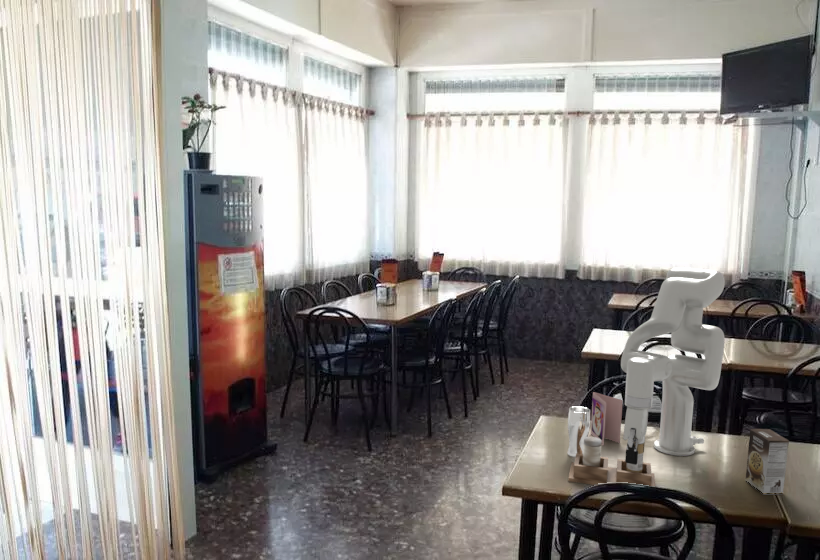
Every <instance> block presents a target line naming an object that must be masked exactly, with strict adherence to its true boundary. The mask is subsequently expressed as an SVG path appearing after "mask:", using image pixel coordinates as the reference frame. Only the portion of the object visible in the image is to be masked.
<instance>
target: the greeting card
mask: <svg viewBox="0 0 820 560" xmlns="http://www.w3.org/2000/svg"><path fill="white" fill-rule="evenodd" d="M591 399H592V400H591V401H592V403H591V405H592V406H591V417H590V435H592V437H596V438H599V439H601V441H602V442H601V446H603V447H604V445H605V443H604V442H605V438H607V439H606V440H608V439H609V441H611V440H612V442H614V441H615V443H617V442H618V444H621V434H622V433H621V432H622V431H621V429H622V416H623V402H624V400H623V399H620V398H616V397H612V396H608V395H605V394H602V393H599V392H595V391H593V392H592V397H591Z"/></svg>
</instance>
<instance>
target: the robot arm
mask: <svg viewBox="0 0 820 560" xmlns="http://www.w3.org/2000/svg"><path fill="white" fill-rule="evenodd" d="M725 281H726V280H725V276H724V275H723V273H722V272H720V271H719V270H713V269H704V268H694V267H672V268H670V269H668V271H667V273H666V279H665V280H663V282H662V283H661V285H660V289H659V291H658V294H657V297H656V301H655V304H654V306H653V310H652V312H651V316H650V318H649V319H648V320H647V321H645V322H643V323H642V324H641V325H639V326H638V327H637V328H636V329H634V330H633V331H632V333H631V334H630V335H629V336H628V338H627V340H626V342H625V346H624V348H623V352H622V355H621V359H620V368H621V369H622V371H623V372H624V373H626V377H625V392H624V393H625V394H624V405H625V407H626V412H625V419H624V420H625V421H624V428H623V440H624V441H627V443H626V448H625V459H624V460H625V462H626V463H630V464H635V465H636V464H637V459H638V451H637V447H638V443H640V442H641V441H642V440H643V437H644V436H645V437H646V434H647V429H648V420H649V419H648V418H649V410H650V409H653V402H654V401H653V399H654V385H655V383H654V382H661V381H662V398H661V410H660V411H661V412H660V426H659V438H658V439H656V440H654V441H653V447H654V448H655V450H657V451H658V452H661V453H663V454H667V455H670V456H675V457H677V456H678V457H683V456H684V457H686V456H687V457H688V456H691V455H694V453H695V451H696V448H695V445H697V444H699V445H702V444H704V443H705V439H704V437H697V438H696V435H692V425H693V424H692V423H693V413H694V412H693V411H694V404H695V403H694V396H693V393H692V391H691V390H690V388H695V389H700V390H705V391H713V390H715V389H716V388H717V387H718V385H719V382H720V378H721V373H722V372H721V371H722V364H723V358H724V351H725V339H726V338H725V333H724V331H723V329H721V328H720V327H719V326H715V325H709V324H704V323H703V314H704V308H707V307H709V306H710V305H712V304H713V302H714V301H715V300H716V299H718V298H719V297H720V295H721V294H722V293H723V292H724V288H725V284H726V282H725ZM668 334H671V335H670V343H671V346H672V348H673V349H675V350H678V351H682V352H685V353H686V352H687V353H691V354H692V353H693V354H697V355H703V356H704V358H698V357H695V356H688V355H683V354H676V353H675V354H668V355H667V356H666V355H664V354H661V353H659V354H658V353H652V352H649V351H643V350H639V348H641V346H642V345H643V344H644V343H645V342H646V341H648V340H650V339H653V338H656V337H659V336H664V335H668ZM635 433H636V434H635ZM634 439H637V440H634ZM633 443H636V444H635V445H634V444H633ZM645 444H646V442H644V445H645ZM643 452H644V453H645V447H644V448H643Z"/></svg>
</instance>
